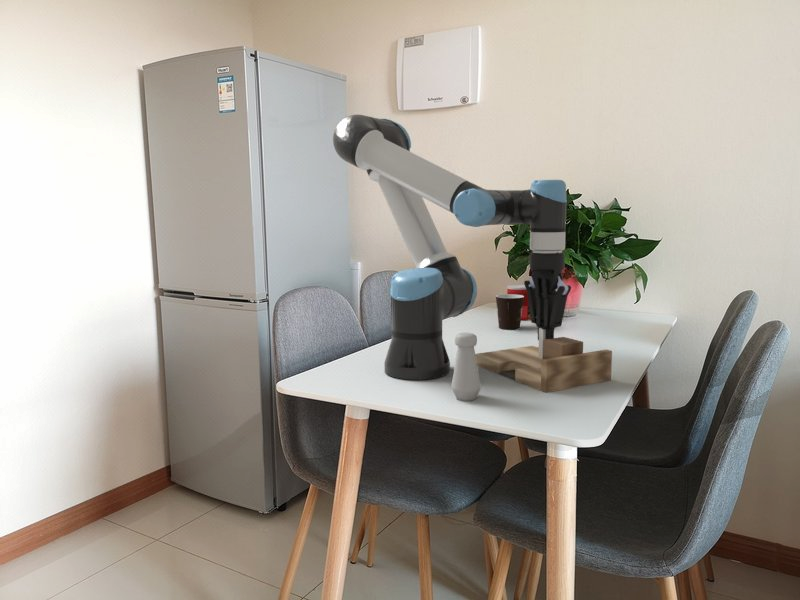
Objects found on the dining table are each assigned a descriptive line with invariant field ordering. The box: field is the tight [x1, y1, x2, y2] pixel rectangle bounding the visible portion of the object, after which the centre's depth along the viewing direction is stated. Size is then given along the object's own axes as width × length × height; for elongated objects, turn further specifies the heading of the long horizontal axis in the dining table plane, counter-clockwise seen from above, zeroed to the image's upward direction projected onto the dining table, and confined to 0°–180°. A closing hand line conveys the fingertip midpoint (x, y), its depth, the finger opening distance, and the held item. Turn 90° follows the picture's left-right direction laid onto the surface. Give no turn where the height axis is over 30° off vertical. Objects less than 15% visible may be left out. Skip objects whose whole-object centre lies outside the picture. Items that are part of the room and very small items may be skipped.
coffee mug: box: [495, 293, 524, 331], centre depth 188 cm, size 12×9×10 cm
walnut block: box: [542, 336, 584, 360], centre depth 132 cm, size 6×6×6 cm
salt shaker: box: [450, 332, 482, 402], centre depth 120 cm, size 6×6×13 cm
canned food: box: [506, 284, 531, 321], centre depth 204 cm, size 8×8×11 cm
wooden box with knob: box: [475, 345, 613, 393], centre depth 138 cm, size 18×26×6 cm
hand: (545, 356), depth 137 cm, fingers closed
